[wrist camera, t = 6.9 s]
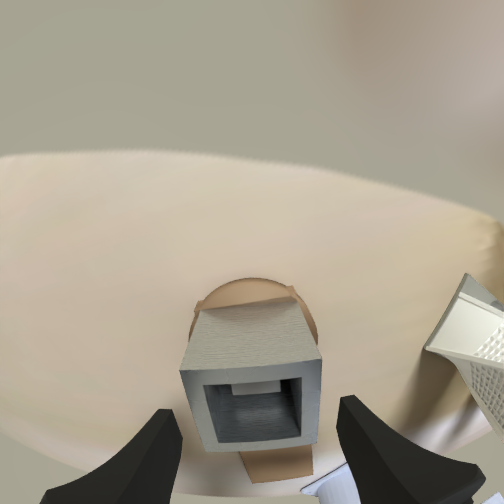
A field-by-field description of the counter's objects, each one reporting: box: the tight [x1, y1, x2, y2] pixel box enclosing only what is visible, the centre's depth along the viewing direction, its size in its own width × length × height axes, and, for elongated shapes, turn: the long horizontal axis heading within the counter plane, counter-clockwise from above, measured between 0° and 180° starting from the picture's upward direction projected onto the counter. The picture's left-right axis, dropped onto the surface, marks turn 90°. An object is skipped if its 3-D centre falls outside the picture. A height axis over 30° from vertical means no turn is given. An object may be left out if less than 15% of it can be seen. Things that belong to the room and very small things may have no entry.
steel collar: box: [179, 301, 322, 452], centre depth 14 cm, size 6×6×6 cm
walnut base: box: [189, 278, 318, 484], centre depth 17 cm, size 21×8×4 cm, turn 10°
